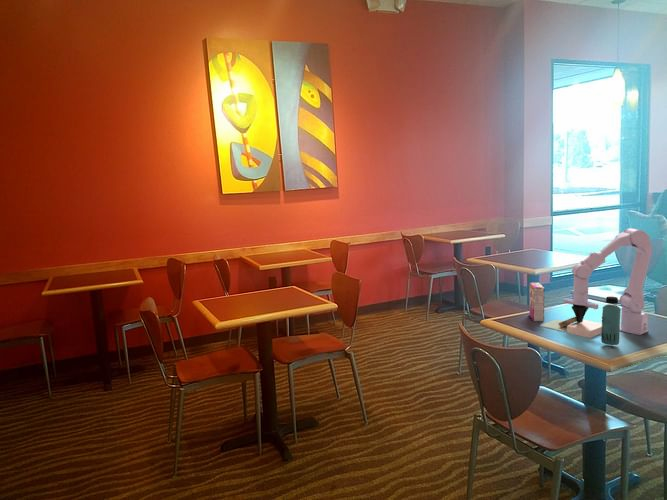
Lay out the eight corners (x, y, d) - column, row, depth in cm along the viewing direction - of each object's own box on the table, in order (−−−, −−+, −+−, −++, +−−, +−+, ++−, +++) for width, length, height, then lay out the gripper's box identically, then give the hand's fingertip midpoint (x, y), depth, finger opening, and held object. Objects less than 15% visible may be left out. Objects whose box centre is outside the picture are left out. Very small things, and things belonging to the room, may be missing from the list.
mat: (582, 325, 219) (582, 325, 219) (565, 332, 212) (565, 331, 212) (556, 320, 230) (556, 319, 230) (539, 326, 222) (539, 325, 222)
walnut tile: (582, 319, 216) (579, 315, 216) (573, 322, 212) (571, 318, 212) (568, 324, 221) (566, 320, 222) (560, 327, 217) (558, 323, 218)
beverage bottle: (613, 343, 196) (615, 294, 193) (623, 348, 189) (625, 298, 187) (597, 344, 196) (598, 295, 193) (606, 349, 189) (608, 299, 186)
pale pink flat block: (606, 331, 211) (607, 324, 210) (589, 338, 203) (590, 331, 203) (583, 326, 219) (584, 319, 219) (566, 332, 211) (567, 325, 211)
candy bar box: (528, 315, 240) (529, 282, 238) (539, 315, 239) (540, 282, 237) (533, 321, 229) (533, 287, 227) (544, 321, 228) (545, 287, 226)
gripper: (559, 290, 215) (558, 320, 217) (592, 295, 203) (591, 327, 205) (568, 287, 219) (567, 317, 221) (601, 293, 207) (600, 324, 209)
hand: (579, 322), depth 213 cm, fingers closed
